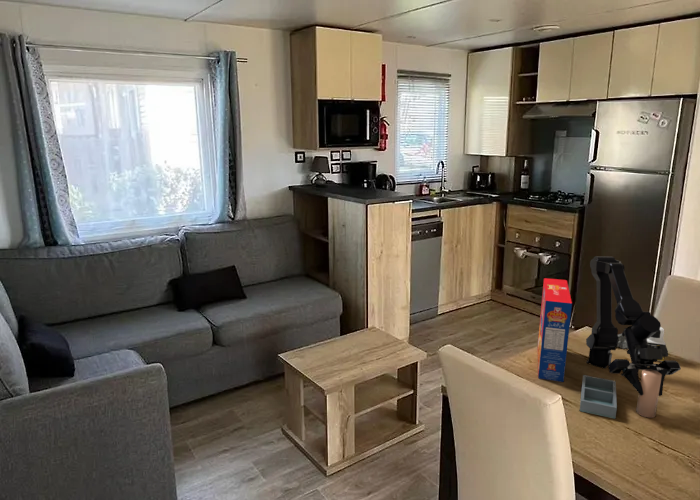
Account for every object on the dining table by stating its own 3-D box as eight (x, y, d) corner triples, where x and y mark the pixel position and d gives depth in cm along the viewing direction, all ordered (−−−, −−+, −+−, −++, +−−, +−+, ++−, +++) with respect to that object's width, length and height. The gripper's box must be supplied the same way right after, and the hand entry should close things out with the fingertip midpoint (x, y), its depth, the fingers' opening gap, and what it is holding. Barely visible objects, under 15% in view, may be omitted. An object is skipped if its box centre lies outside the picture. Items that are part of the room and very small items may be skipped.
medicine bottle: (641, 358, 188) (645, 328, 186) (638, 351, 195) (642, 322, 192) (663, 362, 186) (668, 331, 183) (660, 354, 192) (664, 324, 189)
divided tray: (581, 384, 169) (583, 374, 168) (614, 390, 165) (615, 381, 164) (579, 410, 153) (580, 400, 152) (615, 418, 149) (616, 408, 148)
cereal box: (537, 346, 199) (544, 278, 193) (559, 349, 196) (566, 280, 190) (538, 378, 173) (545, 300, 167) (563, 382, 171) (572, 303, 164)
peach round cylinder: (634, 413, 152) (639, 373, 149) (639, 406, 155) (644, 367, 152) (652, 419, 148) (659, 378, 145) (657, 412, 152) (663, 373, 149)
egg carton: (627, 343, 203) (628, 334, 202) (628, 350, 196) (629, 340, 195) (597, 338, 207) (599, 329, 206) (597, 345, 200) (599, 335, 200)
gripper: (617, 334, 151) (630, 386, 142) (682, 335, 150) (699, 388, 141) (602, 347, 160) (614, 397, 152) (663, 349, 159) (678, 399, 151)
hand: (651, 395), depth 149 cm, fingers closed on peach round cylinder, 5 cm apart
